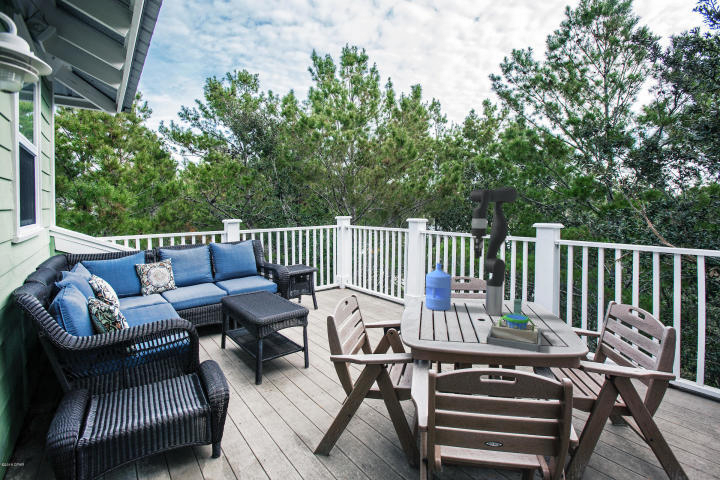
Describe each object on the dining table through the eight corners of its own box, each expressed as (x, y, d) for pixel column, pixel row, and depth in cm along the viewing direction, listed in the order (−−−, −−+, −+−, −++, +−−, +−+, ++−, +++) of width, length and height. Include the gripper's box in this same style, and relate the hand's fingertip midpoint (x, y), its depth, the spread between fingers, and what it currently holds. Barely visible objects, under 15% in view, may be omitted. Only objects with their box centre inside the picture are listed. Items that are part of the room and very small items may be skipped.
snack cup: (533, 335, 178) (534, 315, 177) (534, 343, 168) (535, 321, 167) (499, 331, 184) (499, 312, 183) (498, 338, 174) (498, 317, 174)
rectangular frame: (493, 327, 190) (493, 322, 190) (540, 334, 180) (540, 328, 180) (486, 343, 167) (486, 337, 167) (540, 352, 157) (540, 345, 157)
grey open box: (497, 323, 196) (498, 297, 195) (537, 329, 187) (538, 301, 186) (492, 336, 176) (493, 307, 174) (537, 343, 167) (538, 312, 166)
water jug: (431, 303, 240) (432, 261, 238) (454, 306, 231) (455, 263, 229) (421, 308, 228) (421, 264, 225) (444, 312, 218) (445, 266, 216)
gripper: (484, 228, 184) (483, 259, 186) (488, 226, 197) (487, 256, 198) (469, 227, 188) (468, 258, 189) (474, 226, 200) (473, 255, 202)
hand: (478, 257), depth 194 cm, fingers open, 8 cm apart
